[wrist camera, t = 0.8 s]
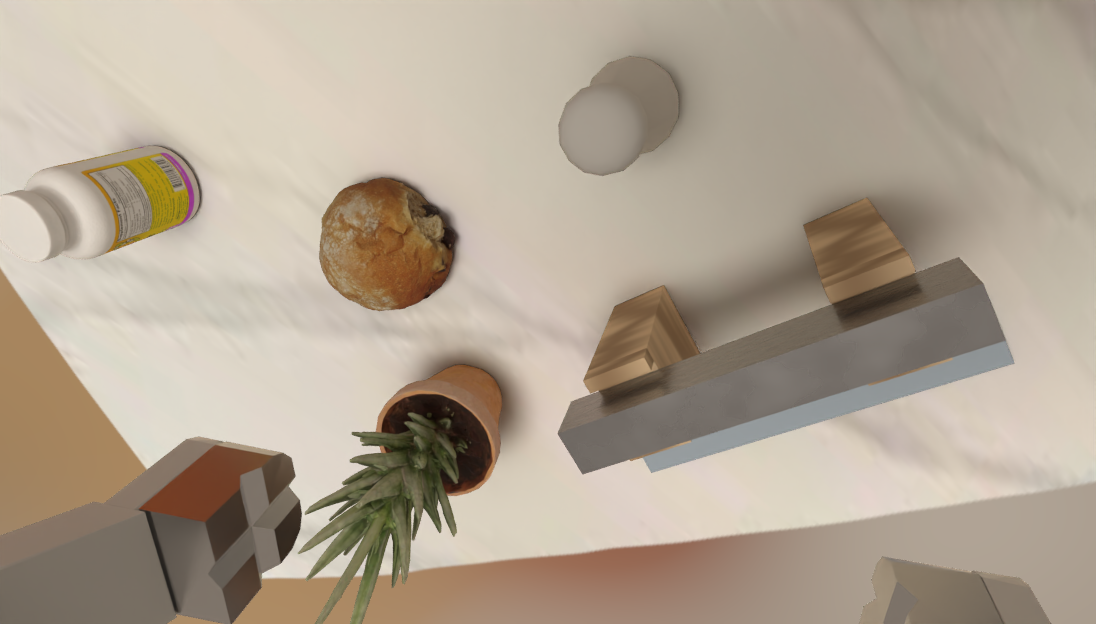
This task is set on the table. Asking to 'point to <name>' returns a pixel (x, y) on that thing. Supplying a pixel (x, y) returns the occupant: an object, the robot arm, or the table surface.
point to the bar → (786, 366)
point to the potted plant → (411, 474)
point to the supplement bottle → (98, 204)
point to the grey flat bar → (835, 406)
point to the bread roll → (384, 245)
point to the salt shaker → (619, 116)
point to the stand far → (640, 343)
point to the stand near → (857, 254)
